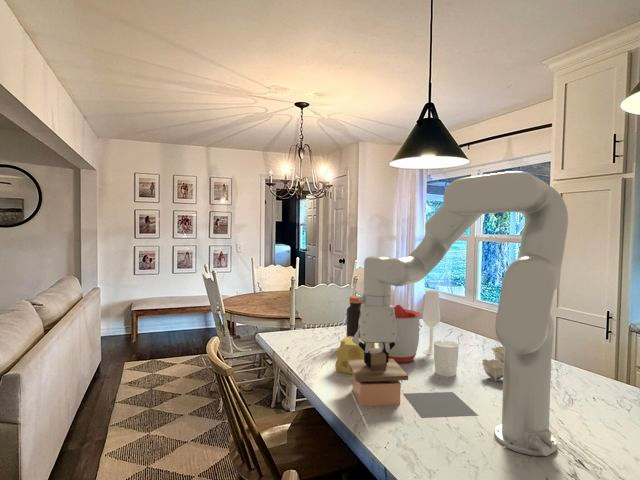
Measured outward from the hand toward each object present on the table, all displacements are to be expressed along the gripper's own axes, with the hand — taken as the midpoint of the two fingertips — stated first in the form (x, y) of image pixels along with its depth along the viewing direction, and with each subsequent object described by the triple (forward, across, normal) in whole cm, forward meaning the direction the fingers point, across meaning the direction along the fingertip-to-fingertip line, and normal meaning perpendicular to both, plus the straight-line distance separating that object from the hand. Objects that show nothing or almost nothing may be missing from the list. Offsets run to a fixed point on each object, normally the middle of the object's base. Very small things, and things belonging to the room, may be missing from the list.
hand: (376, 364), depth 115 cm
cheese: (+10, -1, +23) cm, 25 cm away
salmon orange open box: (+9, 0, 0) cm, 9 cm away
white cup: (+10, +28, +17) cm, 34 cm away
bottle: (+9, +4, +50) cm, 51 cm away
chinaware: (+10, +50, +15) cm, 53 cm away
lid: (+2, 0, 0) cm, 2 cm away
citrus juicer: (+10, +16, +34) cm, 39 cm away
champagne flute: (+10, +32, +40) cm, 52 cm away
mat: (+9, +16, -6) cm, 19 cm away
